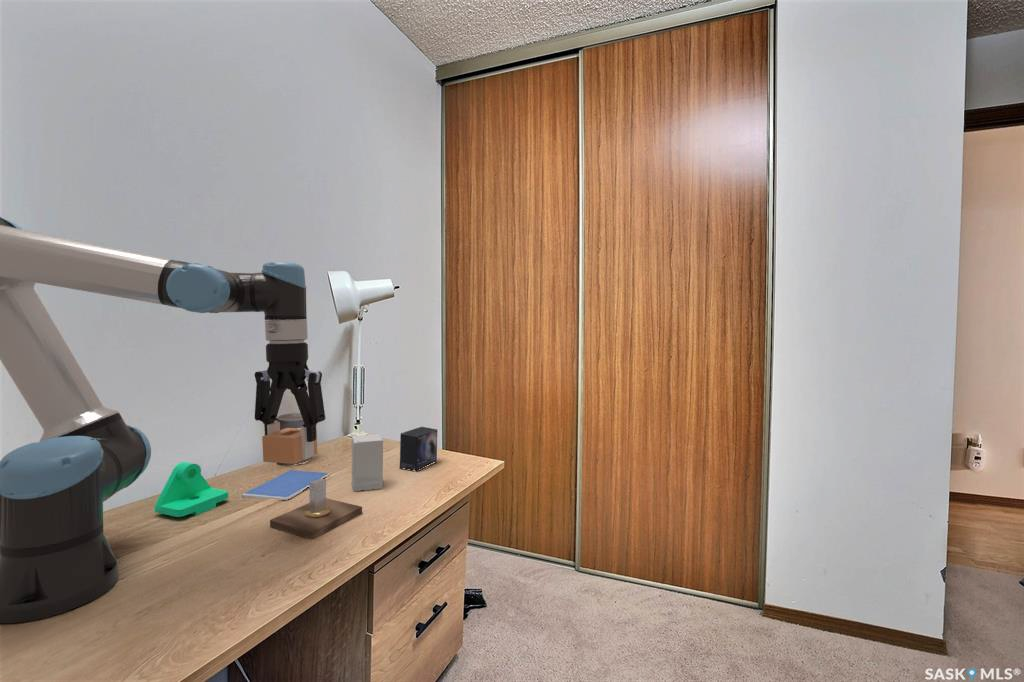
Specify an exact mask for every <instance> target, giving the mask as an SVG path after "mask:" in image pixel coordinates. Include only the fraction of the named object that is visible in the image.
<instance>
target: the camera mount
mask: <svg viewBox="0 0 1024 682" xmlns="http://www.w3.org/2000/svg"><path fill="white" fill-rule="evenodd" d="M171 471H172V472H171V473H170V475H169V477H168V479H167V480H166V483H164V487H163V489H162V490H161V493H160V494H159V496H158V499H156V502H155V504H154V513H157V514H160V515H161V514H162V515H167V516H171V517H177V518H181V517H185V516H187V515H192V516H193V515H194V516H199V515H200V514H203V513H206V512H208V511H210V510H212V509H215V508H217V504H218V503H221V502H223V501H225V500H228V499H229V491H228V490H225V489H220V488H215V487H212V486H211V485H210V483H209V482H208V481H206V479H205V477H204V476H203V475H202V468H201V466H200V465H199V464H197V463H193V462H187V461H186V462H185V461H183V462H179V463H177V464H176V465H174V467H173V468H172V470H171ZM205 511H206V512H205Z"/></svg>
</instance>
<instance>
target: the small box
mask: <svg viewBox="0 0 1024 682" xmlns="http://www.w3.org/2000/svg"><path fill="white" fill-rule="evenodd" d="M399 443H400V444H399V446H400V448H399V450H400V451H399V469H401V468H405V469H404V470H406V469H410V470H415V471H416V472H418V471H417V470H419V469H421V468H423V467H425V466H427V465H429V464H431V463H433V462H436V461H437V462H438V460H437V459H438V458H437V457H438V429H436V428H431V427H425V426H419V427H416V428H414V429H410V430H407V431H403V432H401V433H400V441H399ZM425 468H426V467H425ZM423 469H424V468H423ZM410 470H409V471H410ZM421 470H422V469H421ZM415 471H414V472H415ZM419 471H420V470H419Z"/></svg>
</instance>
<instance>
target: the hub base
mask: <svg viewBox="0 0 1024 682" xmlns="http://www.w3.org/2000/svg"><path fill="white" fill-rule="evenodd" d="M308 489H309V493H308V494H309V500H308V501H309V502H308V503H306V504H304V505H301V506H299V507H296V508H294V509H292V510H289V511H288V512H285V513H283V514H280V515H278V516H276V517H273V518H271V519H269V528H272V529H276V530H279V531H283V532H286V533H289V534H293V535H295V536H300V537H303V538H307V539H310V540H314V539H316V538H318V537H319V536H321V535H323V534H326V533H327V532H329V531H331V530H332V529H334V528H337V527H339V526H341V525H342V524H344V523H346V522H348V521H350V520H351V519H354V518H356V517H358V516H360V515H361V514H363V506H360V505H357V504H356V505H355V504H353V503H348V502H344V501H341V500H336V499H335V500H334V499H330V498H328V497H327V480H326V478H325V479H318V480H315V481H313V482H310V483H309V488H308Z"/></svg>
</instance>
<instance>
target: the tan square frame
mask: <svg viewBox="0 0 1024 682" xmlns="http://www.w3.org/2000/svg"><path fill="white" fill-rule="evenodd" d="M317 431H318V430H317V428H316V436H318V432H317ZM261 441H262V459H263V460H262V461H263V463H272V464H273V463H275V464H277V463H288V464H296V463H298V462H300V461H302V460H304V459H302V441H301V428H285V429H282V430H280V431H277V432H274V433H271V434H268V435H265V434H264V435H263V436H262V439H261ZM317 454H318V437H317V438H316V440H315V441H314V456H315V455H317Z"/></svg>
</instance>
